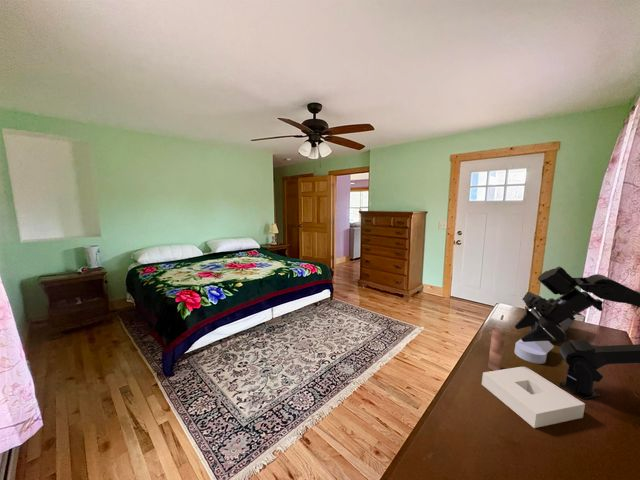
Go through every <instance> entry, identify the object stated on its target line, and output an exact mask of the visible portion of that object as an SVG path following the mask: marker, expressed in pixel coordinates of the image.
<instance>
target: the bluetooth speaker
mask: <svg viewBox="0 0 640 480" xmlns="http://www.w3.org/2000/svg"><path fill="white" fill-rule="evenodd" d="M573 317H574V316H573ZM574 318H575V317H574ZM539 319H540V318H539ZM574 323H575V319H574V320H571V319H570V318H569V319H567V320H566V321H564V322H562V323H560V325H561V327H560V328H561V329H562V330H563V331H564V332H566V331H567V330H568V329H569V328H570V327H571V326H572V325H573V324H574ZM528 328H529V331H531V330H533V329H534V328H535V325H533V326H529V327H528Z"/></svg>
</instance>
